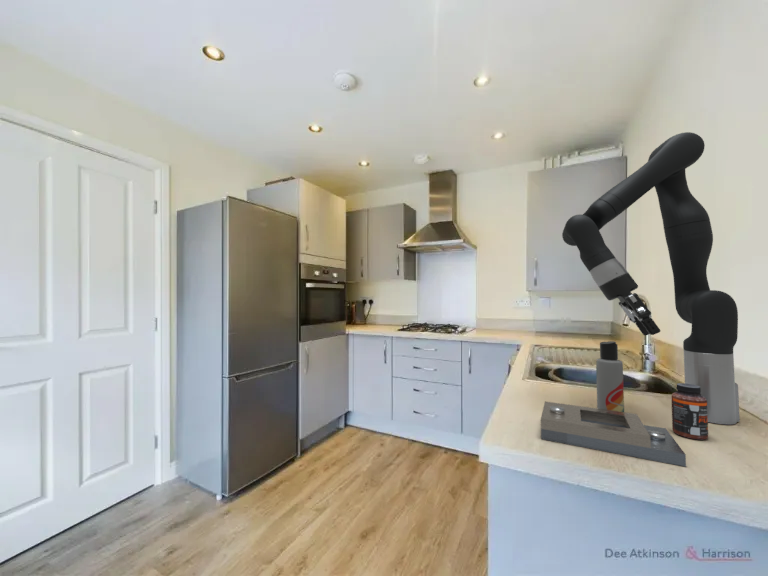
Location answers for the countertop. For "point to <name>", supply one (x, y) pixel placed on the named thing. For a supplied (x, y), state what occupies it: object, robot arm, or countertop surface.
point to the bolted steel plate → (609, 432)
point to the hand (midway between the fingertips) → (652, 333)
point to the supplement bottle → (689, 412)
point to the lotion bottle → (609, 378)
